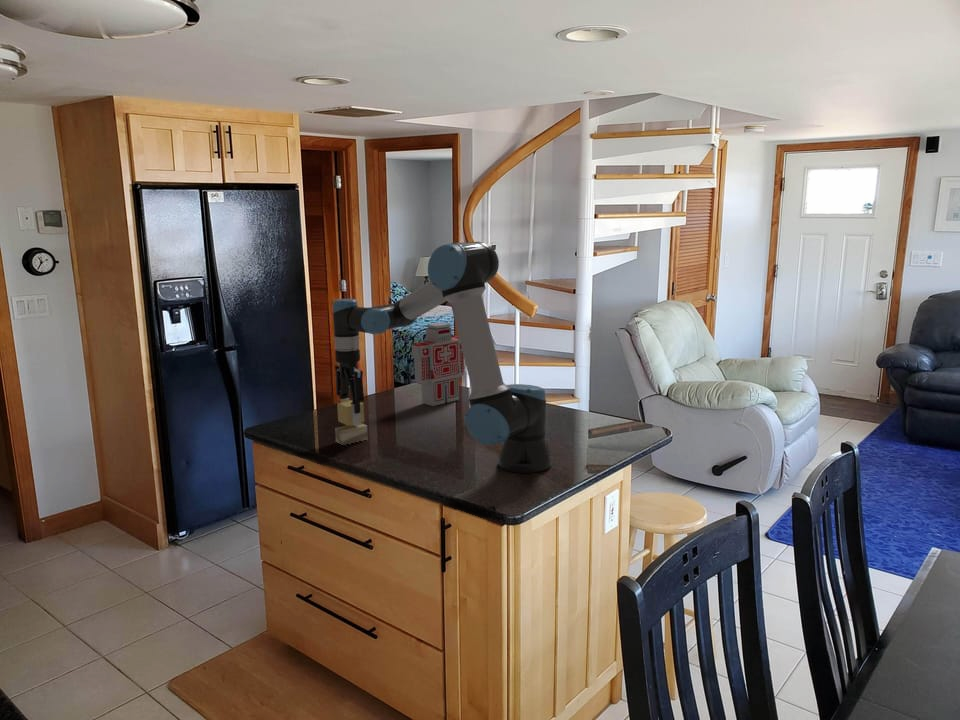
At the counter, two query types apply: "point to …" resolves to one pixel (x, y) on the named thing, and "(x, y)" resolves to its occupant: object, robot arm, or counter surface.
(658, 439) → the counter surface
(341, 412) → the ochre cube
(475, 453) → the counter surface
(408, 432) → the counter surface
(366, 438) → the birch plinth
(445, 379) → the toy
